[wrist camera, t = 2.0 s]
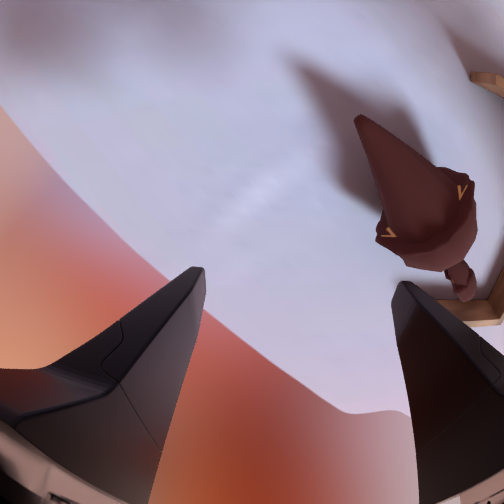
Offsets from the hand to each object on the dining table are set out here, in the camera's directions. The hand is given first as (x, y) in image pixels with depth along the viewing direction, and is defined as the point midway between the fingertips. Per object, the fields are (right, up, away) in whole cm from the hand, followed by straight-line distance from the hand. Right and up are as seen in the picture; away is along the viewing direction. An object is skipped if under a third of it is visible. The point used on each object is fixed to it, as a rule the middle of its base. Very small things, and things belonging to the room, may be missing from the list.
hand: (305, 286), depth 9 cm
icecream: (+9, +5, +9) cm, 14 cm away
